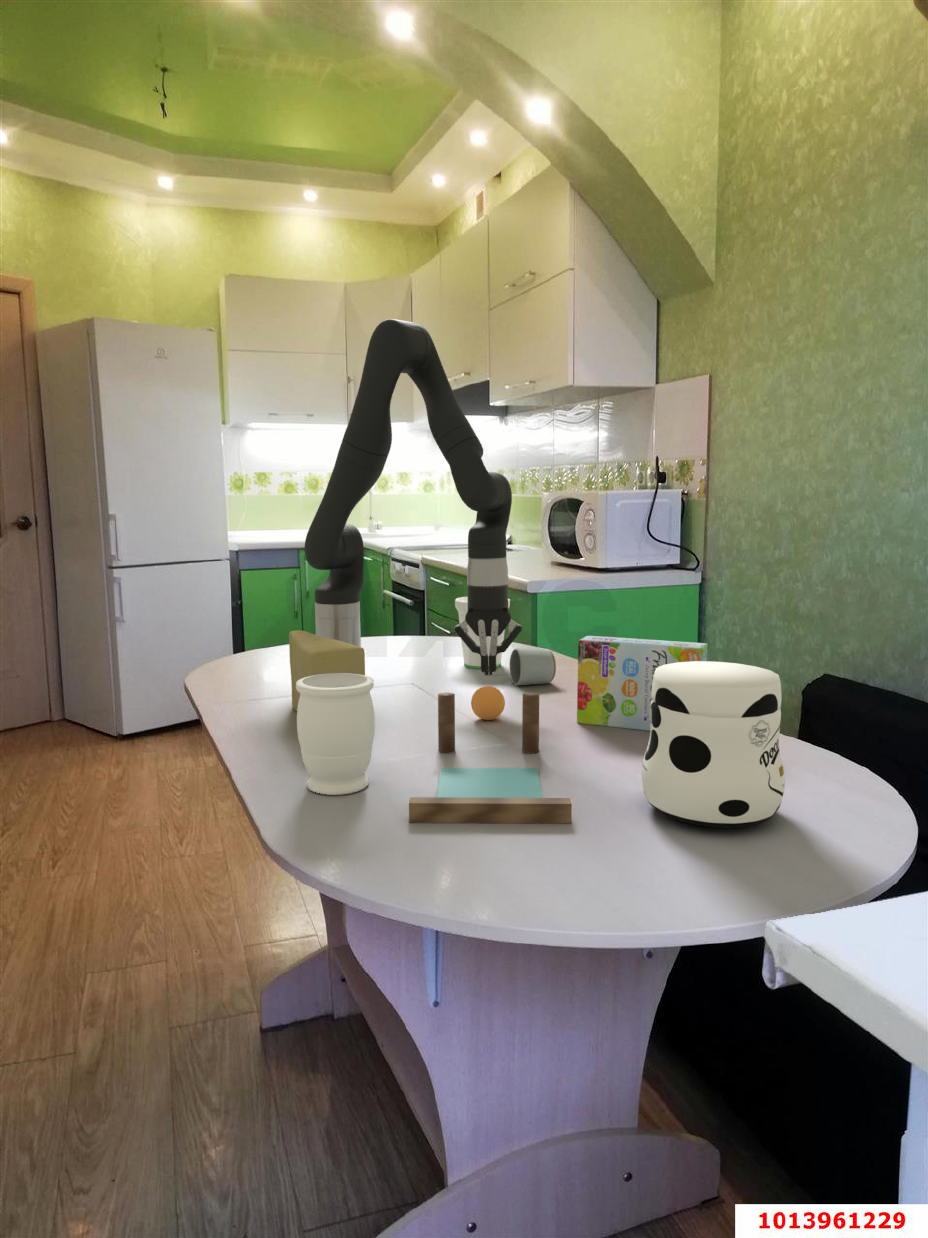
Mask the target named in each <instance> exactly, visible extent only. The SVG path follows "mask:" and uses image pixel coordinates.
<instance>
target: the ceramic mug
mask: <svg viewBox="0 0 928 1238" xmlns="http://www.w3.org/2000/svg"><path fill="white" fill-rule="evenodd" d="M556 665H557V663H556V657H555V655H554V653H553V652H552V651H551V650H548V649H545V648H520V647H519V648H517V647H516V648H513V650H512V652H511V653H510V657H509V675H510V679H511V682H512V684H513V683H514V684H515V685H514V684H513V685H514V686H516V685H520V686H530V685H532V684H533V685H545V684H549V683H551V682H552V681H553V680H554V678H555V676H556V671H557V666H556Z"/></svg>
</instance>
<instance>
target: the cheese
mask: <svg viewBox="0 0 928 1238" xmlns="http://www.w3.org/2000/svg"><path fill="white" fill-rule="evenodd" d="M288 640H289V641H288V643H289V645H288V647H289V650H288V651H289V666H290V678H291V679H290V680H291V683H290V684H291V707H292V709H293V708H294V709H295V710H296V711H297V709H298V702H299V698H300V693H299V692H298V691H297V689H296V682H297V681H298V680H300V679H302V678H305V677H308V676H313V675H320V674H331V673H350V674H360V675H365V676H366V659H365V657H366V656H365V655H366V653H365V648H363V647H362V646H361V647H359V646H355V645H352V644H348V643H345V642H342V641H338V640H333V639H329V638H325V637H321V636H318V635H316V633H315V634H314V633H312V632H309V631H305V630H302V629H297V630H291V631H289V634H288ZM294 709H293V710H294ZM295 710H294V711H295ZM296 711H295V712H296Z"/></svg>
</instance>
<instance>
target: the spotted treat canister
mask: <svg viewBox="0 0 928 1238" xmlns="http://www.w3.org/2000/svg"><path fill="white" fill-rule="evenodd" d="M651 695H652V701H651V730H650V731H649V732H650V734H649V738H648V744H647V747H646V750H645V752H644V755H643V759H642V764H641V765H642V766H641V782H642V788H643V789H642V790H643V793H644V796H645V798H646V800H647V802H648V803H649V804H650V806H651V807H652V808H653V809H654V810H656V811H657V812H659V813H661V814H663V815H665V816H666V817H668V818H671V819H674V820H676V821H680V822H683V823H686V824H691V825H696V826H703V827H709V828H728V829H729V828H741V827H751V826H754V825H757V824H760V823H763V822H766V821H768V820H770V819H771V818H772V817H773V816H774V815H775V814H777V812H778V811H779V809H780V807H781V805H782V801H783V797H784V794H785V793H784V792H785V785H786V779H785V777H786V776H785V770H784V765H783V761H782V757H781V752H780V751H781V750H780V730H781V729H780V728H781V719H782V711H781V707H782V697H783V696H782V695H783V694H782V683H781V678H780V675H779V674H778V673H776V672H775V671H773V670H770V669H767V668H763V667H759V666H755V665H749V664H743V663H738V662H737V663H736V662H726V661H724V662H723V661H709V660H707V661H692V662H677V663H671V664H665V665H662V666H660V667H657V668H656V670H655V672H654V676H653V683H652V693H651Z"/></svg>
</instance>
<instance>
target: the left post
mask: <svg viewBox="0 0 928 1238" xmlns="http://www.w3.org/2000/svg"><path fill="white" fill-rule="evenodd" d="M455 697H456V694H455V693H453V692H440V693H438V694H437V728H438V733H437V735H438V737H437V739H438V741H437V742H438V743H437V744H438V749H437V751H438V752H439V753H443V754H451V753H454V752H455V751H456V711H455V710H456V706H455V705H456V701H455V700H456V699H455Z"/></svg>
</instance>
